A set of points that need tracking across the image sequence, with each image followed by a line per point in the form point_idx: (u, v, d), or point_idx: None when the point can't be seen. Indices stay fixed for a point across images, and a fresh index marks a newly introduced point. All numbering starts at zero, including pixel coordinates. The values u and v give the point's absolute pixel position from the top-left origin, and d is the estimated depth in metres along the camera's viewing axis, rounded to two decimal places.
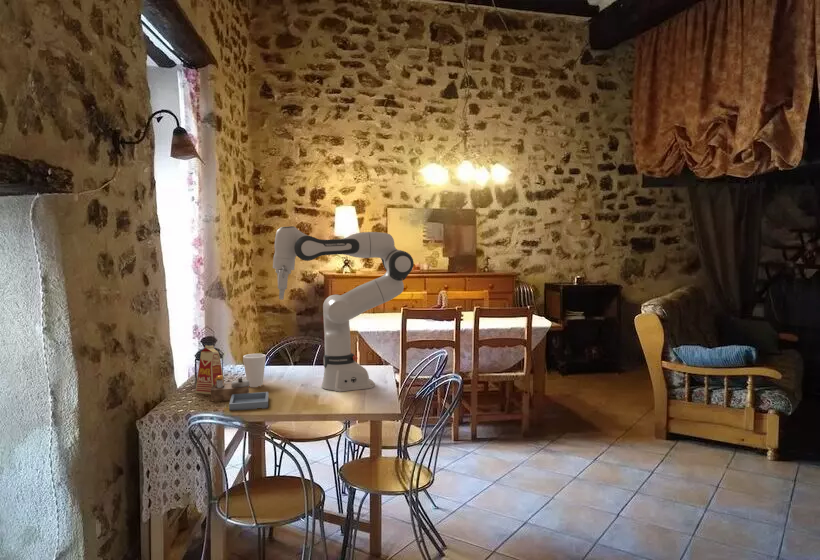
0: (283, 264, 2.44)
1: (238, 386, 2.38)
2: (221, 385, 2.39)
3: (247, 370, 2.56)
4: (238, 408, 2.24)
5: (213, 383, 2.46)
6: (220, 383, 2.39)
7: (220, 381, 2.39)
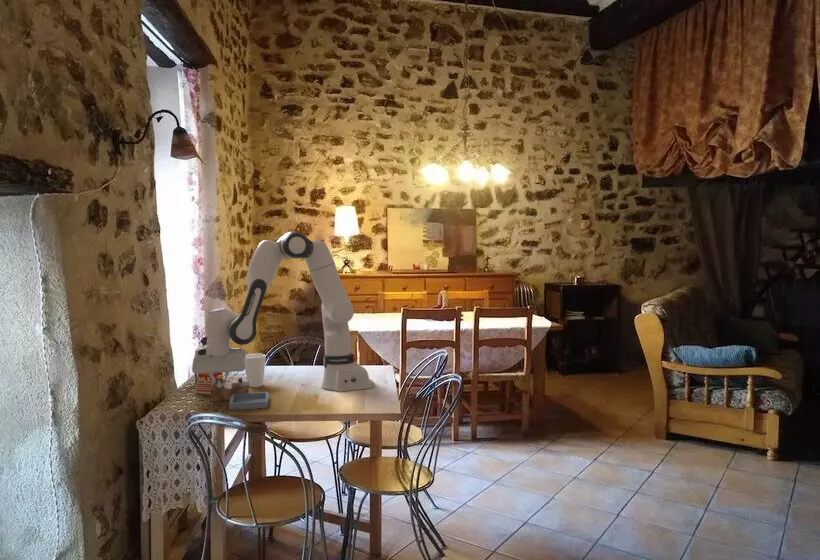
0: (229, 347, 2.39)
1: (238, 386, 2.38)
2: (221, 385, 2.39)
3: (247, 370, 2.55)
4: (238, 408, 2.24)
5: None
6: (220, 383, 2.39)
7: (220, 381, 2.39)
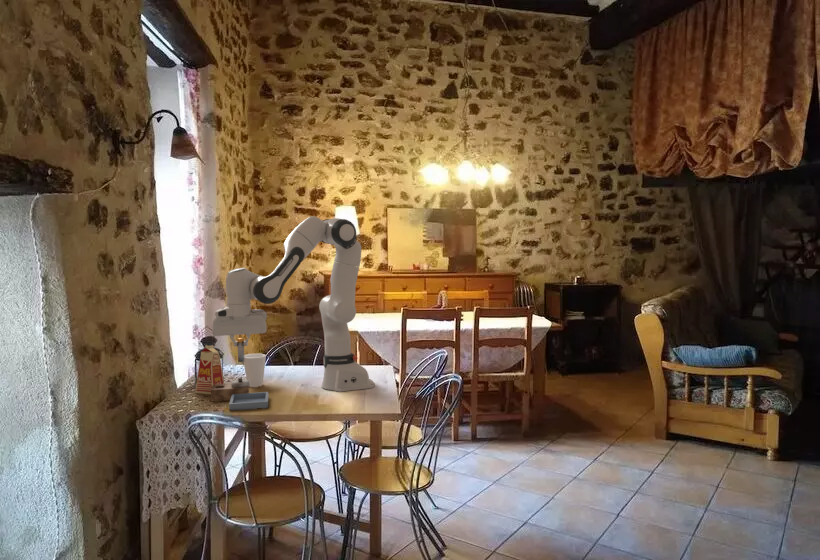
0: (250, 308, 2.32)
1: (238, 386, 2.38)
2: (242, 348, 2.32)
3: (247, 370, 2.55)
4: (238, 408, 2.24)
5: (213, 383, 2.46)
6: (241, 346, 2.31)
7: (241, 344, 2.31)
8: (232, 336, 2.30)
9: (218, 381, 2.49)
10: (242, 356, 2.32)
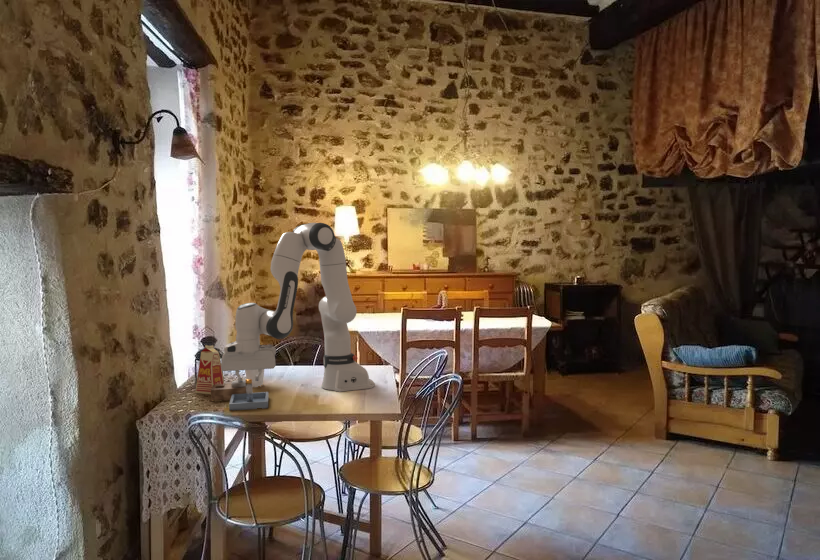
0: (259, 343, 2.30)
1: (238, 386, 2.38)
2: (251, 389, 2.30)
3: (247, 370, 2.55)
4: (238, 408, 2.24)
5: (213, 383, 2.46)
6: (250, 387, 2.30)
7: (249, 385, 2.30)
8: (237, 371, 2.29)
9: (218, 381, 2.50)
10: (251, 397, 2.30)
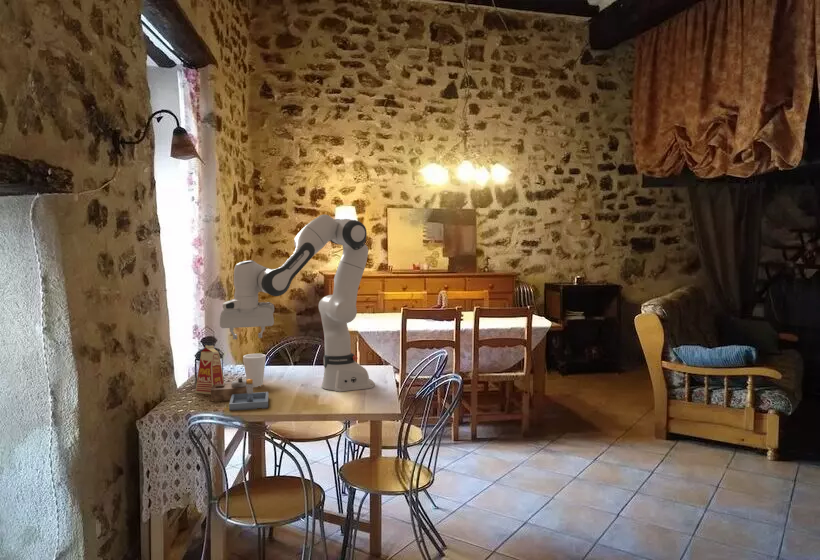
0: None
1: (238, 386, 2.38)
2: (251, 389, 2.30)
3: (247, 370, 2.56)
4: (238, 408, 2.24)
5: (213, 383, 2.46)
6: (250, 387, 2.30)
7: (250, 385, 2.30)
8: (232, 329, 2.29)
9: (218, 381, 2.50)
10: (251, 397, 2.30)
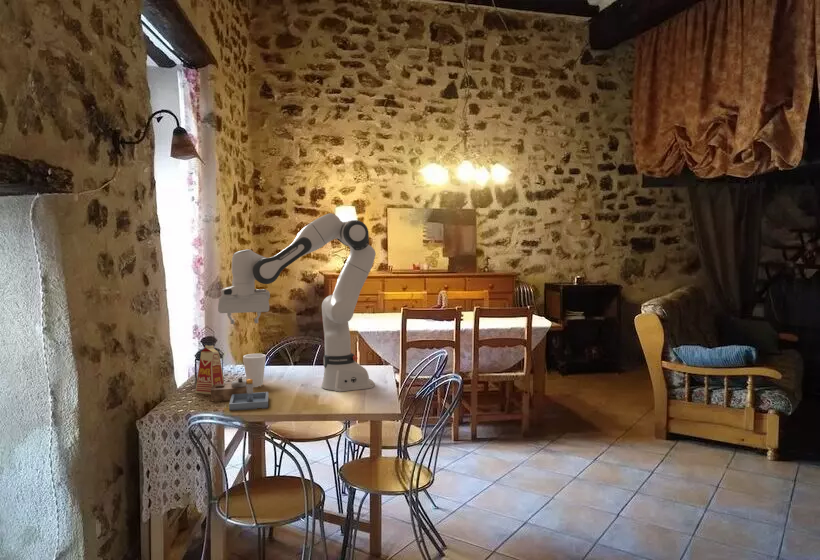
0: (254, 288, 2.44)
1: (238, 386, 2.38)
2: (251, 389, 2.30)
3: (247, 370, 2.56)
4: (238, 408, 2.24)
5: (213, 383, 2.46)
6: (250, 387, 2.30)
7: (250, 385, 2.30)
8: (229, 314, 2.42)
9: (218, 381, 2.50)
10: (251, 397, 2.30)
